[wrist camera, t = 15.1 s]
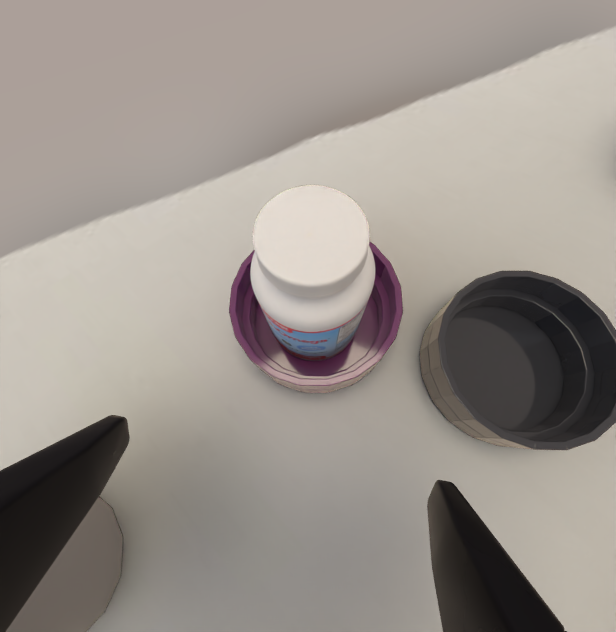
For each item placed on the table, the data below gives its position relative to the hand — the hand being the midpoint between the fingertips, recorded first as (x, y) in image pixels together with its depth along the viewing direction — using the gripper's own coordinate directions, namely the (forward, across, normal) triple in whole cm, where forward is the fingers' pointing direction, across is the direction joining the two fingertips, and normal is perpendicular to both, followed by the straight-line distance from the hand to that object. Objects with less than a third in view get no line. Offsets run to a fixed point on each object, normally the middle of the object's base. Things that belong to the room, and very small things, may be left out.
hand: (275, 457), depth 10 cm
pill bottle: (+15, 0, +3) cm, 15 cm away
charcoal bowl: (+14, -12, +3) cm, 19 cm away
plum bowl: (+15, 0, +3) cm, 15 cm away
